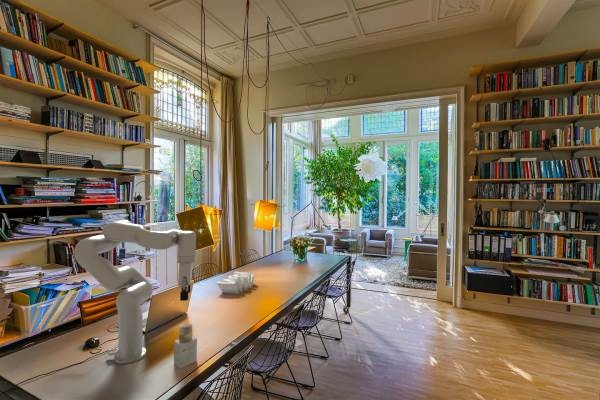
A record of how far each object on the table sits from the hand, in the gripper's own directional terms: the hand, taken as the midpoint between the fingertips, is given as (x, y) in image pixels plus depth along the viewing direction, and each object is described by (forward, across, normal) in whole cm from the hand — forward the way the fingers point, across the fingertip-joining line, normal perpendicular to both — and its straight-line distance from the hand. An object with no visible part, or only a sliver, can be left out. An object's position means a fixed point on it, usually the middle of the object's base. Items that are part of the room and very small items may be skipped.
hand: (185, 296), depth 130 cm
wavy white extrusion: (+29, -90, +30) cm, 99 cm away
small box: (+29, +4, +1) cm, 29 cm away
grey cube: (+18, +4, +1) cm, 18 cm away
